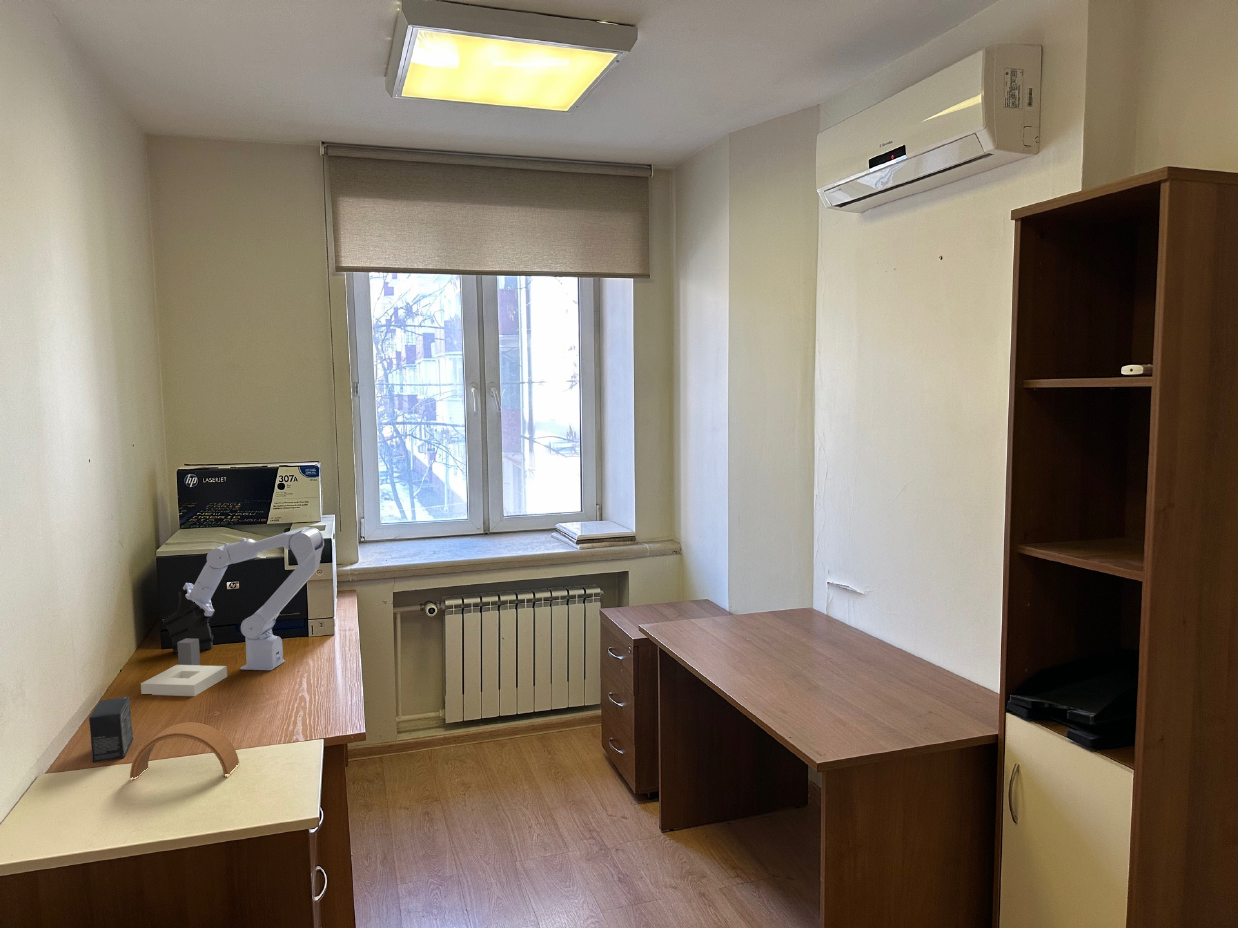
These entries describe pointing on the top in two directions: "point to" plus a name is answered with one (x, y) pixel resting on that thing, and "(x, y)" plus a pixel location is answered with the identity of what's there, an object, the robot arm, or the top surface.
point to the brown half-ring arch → (196, 732)
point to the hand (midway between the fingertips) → (185, 623)
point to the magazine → (180, 630)
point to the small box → (111, 729)
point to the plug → (188, 652)
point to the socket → (184, 680)
